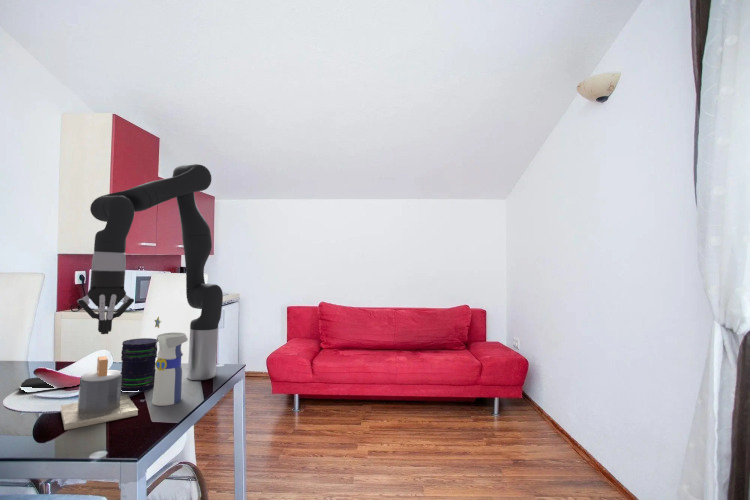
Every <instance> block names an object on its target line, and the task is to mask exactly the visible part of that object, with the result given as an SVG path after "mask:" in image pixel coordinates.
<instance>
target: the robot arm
mask: <svg viewBox="0 0 750 500" xmlns="http://www.w3.org/2000/svg"><path fill="white" fill-rule="evenodd" d="M212 179H213V178H212V174H211V171H210V170H209V168H208V167H206V166H205V165H202V164H197V163H196V164H195V163H193V164H179V165H177V166H176V167H175V168H174V169H173V171H172V177H169V178H163V179H157V180H153V181H152V180H151V181H149V182H145V183H143V184H140V185H136V186H134V187H131V188H128V189H126V190H121V191H116V192H111V193H107V194H104V195H101V196H98V197H96V198H95V199H94V200H92V202H91V204H90V208H89V209H90V210H89V211H90V213H91V215H92V217H93V218H94V219H95V220H98V221H100V222H105V223H106V224H105V227H104V228H103V229H100V230H98V231H97V232H96V233H95V236H94V243H93V245H94V247H93V255H92V259H91V270H90V271H91V272H90V286H89V290H88V291H87V293H86V295H85V296H83V297H82V298H79V299H77V301H76V302H77V304H78V305H79V306H80V307H81V308H82V309H83V310H84V312H86V313H87V314H88V315H89V316H90V317H91V318H92V319H96V320H97V321H98V324H97V331H98V332H99V333H100V335H109V332H112V329H113V328H112V327H113V326H112V324H113V320H114V319H115V318H120V317H121V316H122V315H123V313H125V311H126V310H128V309H129V308H130V306H132V304H133V303H134V302H135V298H133V297H130V296H128V295H127V291H126V290H125V278H126V269H127V266H126V264H127V261H126V260H127V259H126V252H127V251H126V247H127V237H128V235H129V233H130V230H131V228H132V227H131V226H132V225H133V221H134V218H135V213H138V212H143V211H146V210H148V209H151V208H153V207H156V206H157V205H160V204H162V203H165V202H168V201H170V200H173V199H176V202H177V207H178V208H177V209H178V213H179V220H180V227H181V238H182V247H183V253H184V262H185V273H186V274H185V276H186V277H185V283H186V284H185V286H186V287H185V288H186V290H185V294H186V300H187V303H188V305H189V306H190V308H193V309H197V310H198V309H199V310H201V312H200V316H198V317H197V318H194V319H192V320H191V321H190V324H189V345H188V360H187V375H186V378H187V379H188V380H190V381H191V380H192V381H205V380H209V379H213V378H215V377H216V374H217V373H216V372H217V371H216V370H217V358H218V357H217V355H218V354H217V353H218V339H219V337H218V334H219V323H220V322H221V318H222V309H223V302H224V301H223V300H224V298H223V297H224V294H223V290H222V288H221V286H220V285H218V284H215V283H206V282H205V274H204V273H205V266H206V263H207V262H208V259H209V257H210V255H211V252H212V248H213V247H212V245H213V243H212V242H213V241H212V235H211V234H212V233H211V228H210V225H209V224H208V222H207V221H206V219H205V218H204V216H203V215H202V213H201V212H200V210H199V208H198V205H197V203H196V197H195V192H196V193H197V192H203V191H205V190H207V189H208V188H209V187H210V185H211V184H212ZM90 301H91V302H92V303H93V305H94V306H96V307H97V313H96V312H95V311H94V310H93V309H92V308H91V307H90V306H89V304H90ZM121 301H122V304H121V305H120V306H119V307H118V308H117V309H116V310H115V307H116V306H118V304H119V303H120V302H121Z"/></svg>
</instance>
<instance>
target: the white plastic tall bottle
mask: <svg viewBox="0 0 750 500" xmlns="http://www.w3.org/2000/svg"><path fill="white" fill-rule="evenodd" d="M154 322H155V325H154V328H158V329H160V324H161V323H162V321H161V320H160V316H158V317H157V319H154ZM156 339H157V342H156V346H157V347H159V349H158V351H157V355H156V360H155V369H156V371H155V380H154V388H153V393H152V400H151V404H152V405H153V406H171V405H175V404H179V403H180V402H182V400H183V395H182V393H183V392H182V390H183V388H182V387H183V367H182V357H183V356H184V353H183V351H182V344H184V343H185V342H188V339H189V338H188V336H187V334H186V333H184V332H165V333H160V334H157V336H156Z"/></svg>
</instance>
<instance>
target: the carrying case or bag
mask: <svg viewBox="0 0 750 500" xmlns="http://www.w3.org/2000/svg"><path fill="white" fill-rule="evenodd" d="M20 387H32V388H54V387H53V386H51V385H49V384H47V383H46V382H44V381H43V380H41V379H40V378H38V376H37V377H30V378H26V379H25V380H24V381H23V382H22V383H21V385H20ZM19 391H20V392H21V393H22V394H28V393H27V392H25V391H24V390H21V388H19Z"/></svg>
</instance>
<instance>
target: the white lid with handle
mask: <svg viewBox="0 0 750 500" xmlns="http://www.w3.org/2000/svg"><path fill="white" fill-rule="evenodd" d="M96 360H97V363H96V370H95V371H90V372H87V373H84V374H82V375H81V377H82V381H86V382H100V381H107V380H112V379H115V378H118V377H119V376H120V374H121V371H120V370H117V369H108V367H109V366H108V363H109V359H108V357H107V356H105V355H103V356H97V359H96Z"/></svg>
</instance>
